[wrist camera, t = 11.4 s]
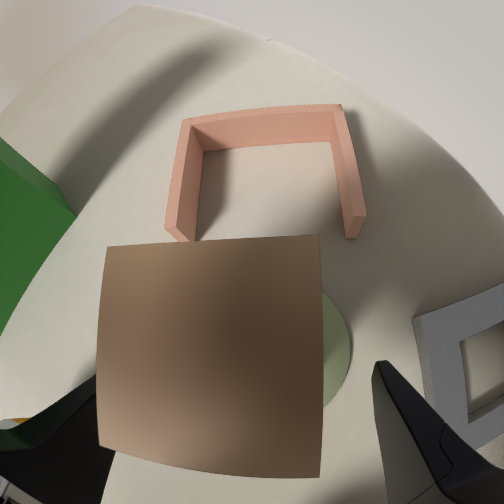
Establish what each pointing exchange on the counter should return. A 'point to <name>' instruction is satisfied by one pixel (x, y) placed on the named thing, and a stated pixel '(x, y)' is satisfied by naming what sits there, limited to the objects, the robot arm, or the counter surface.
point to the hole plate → (458, 363)
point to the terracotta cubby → (255, 134)
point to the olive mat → (334, 349)
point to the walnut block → (214, 355)
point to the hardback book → (26, 225)
